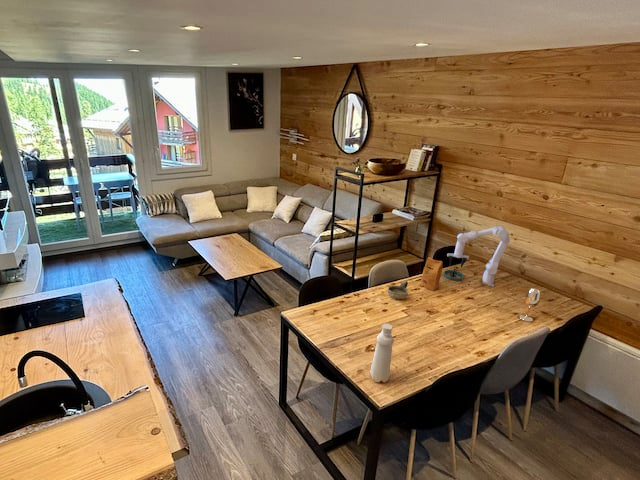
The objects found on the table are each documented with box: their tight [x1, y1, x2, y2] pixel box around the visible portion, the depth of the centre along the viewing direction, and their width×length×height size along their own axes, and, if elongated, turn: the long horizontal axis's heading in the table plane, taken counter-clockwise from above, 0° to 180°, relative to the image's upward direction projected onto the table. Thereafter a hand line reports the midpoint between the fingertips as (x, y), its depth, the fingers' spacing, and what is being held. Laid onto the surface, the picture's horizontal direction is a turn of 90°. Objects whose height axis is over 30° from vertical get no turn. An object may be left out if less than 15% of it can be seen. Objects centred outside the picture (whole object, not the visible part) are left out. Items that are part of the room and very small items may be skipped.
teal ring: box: [443, 269, 465, 282], centre depth 295 cm, size 14×14×4 cm
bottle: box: [369, 323, 395, 383], centre depth 186 cm, size 9×9×30 cm
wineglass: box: [518, 288, 541, 323], centre depth 242 cm, size 8×8×20 cm
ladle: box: [449, 268, 457, 278], centre depth 296 cm, size 4×4×7 cm
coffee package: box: [420, 256, 444, 291], centre depth 279 cm, size 10×12×22 cm
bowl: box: [387, 280, 409, 300], centre depth 266 cm, size 14×18×10 cm
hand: (455, 266), depth 292 cm, fingers open, 7 cm apart
